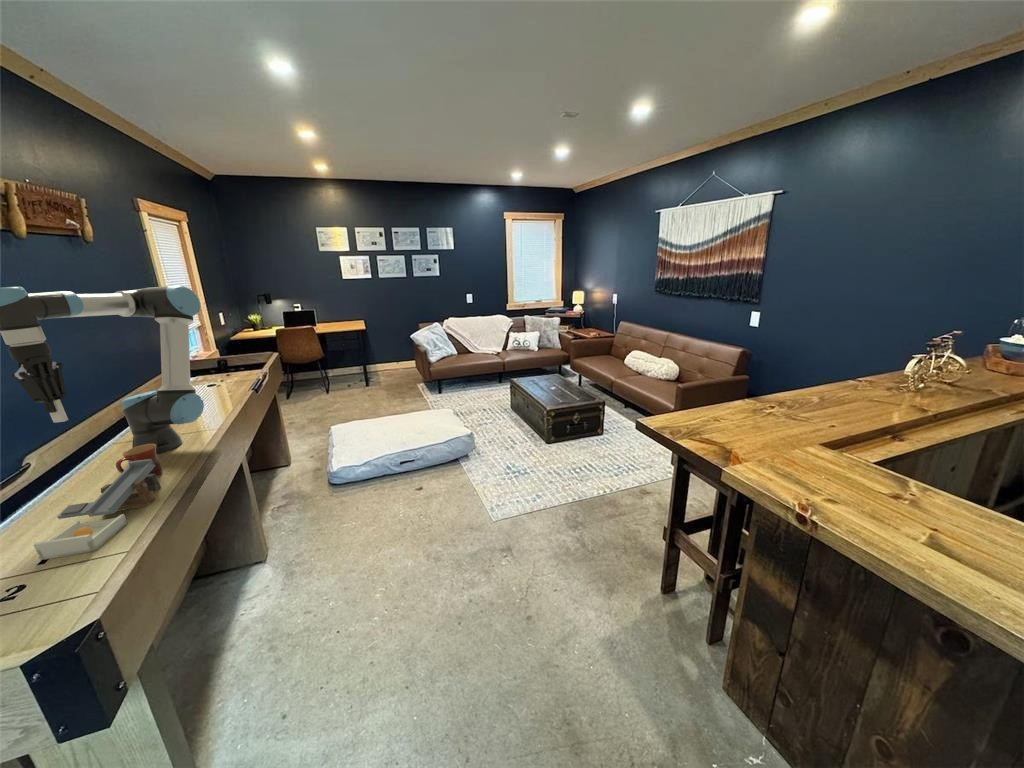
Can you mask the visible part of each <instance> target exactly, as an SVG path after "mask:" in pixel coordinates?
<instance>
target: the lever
mask: <svg viewBox="0 0 1024 768" xmlns="http://www.w3.org/2000/svg"><path fill="white" fill-rule="evenodd" d="M127 464H128V466H127V467H126V468H125V469H123V470H124V471H123V472H122V473H120V474H119V476H117V478H116V479H115V480H114V481H113V482H112V483H110V484H111V485H110V486H109V487H108V488H107V489H106V490H105V491H104V492H103V493H101V494H100V495H99V497H97V498H96V499H95V500H94V501H90V502H84V503H83V502H82V503H81V502H80V503H76V504H75V503H74V504H70V505H67V506H66V507H64V509H62V511H61V512H59V514H58V515H57V516H56V518H58V519H59V520H63V519H68V518H75V517H82V516H88V517H90V518H91V517H97V516H105V515H111V514H115V513H116V512H117V510H118V509H119V507H120V506H121V505H122V504H123V503H124V502H125V500H126V499H127V498H128V497H129V496H130V495H131V494H132V493H134V491H136V488H135V486H134V483H136V482H137V481H138V480H142V479H145V477H146V476H147V475H148V474H149V473H150V472H151V471H152V469H153V468H154V467H155V464H154V463H153V461H152V459H145V460H138V461H130V462H128V463H127Z"/></svg>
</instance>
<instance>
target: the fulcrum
mask: <svg viewBox="0 0 1024 768" xmlns="http://www.w3.org/2000/svg"><path fill="white" fill-rule="evenodd" d="M111 484H112V483H107V484H105V485H103V486H102V487H101V488H100V493H101V494H102V493H103V492H104V491H105V490H106V489H107V488H108V487H109V486H110V485H111ZM134 486H135V488H136V489H135V491H136V492H132V494H131V495H130V496H129V497H128V498H127V499H126V500H125V502H124V503H123V504H122V505H121V506H120V507H119V509H118V510H117V511H124V510H131V509H132V510H133V509H138V508H145V507H148V506H149V505H151V504H152V503H153V502H154V501H155V500H156V499H157V497H156V495H155V492H157V491H159V490H160V489H161V488H162V487H161V484H160V481H159V479H158V475H157V476H156V473H155V474H148V475H147V476H146V477H145V479H142V480H138V481H137V482H136V483H134ZM117 511H116V512H117Z"/></svg>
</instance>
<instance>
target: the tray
mask: <svg viewBox="0 0 1024 768" xmlns="http://www.w3.org/2000/svg"><path fill="white" fill-rule="evenodd" d="M128 524H129V523H128V520H127V517H126V516H125V513H123V514H119V515H118V516H117V517H113V518H108V519H107V518H106V519H102V520H94V521H87V522H86V521H85V522H80V520H77V521H74V522H73V523H72V524H70V525H69V526H67V527H66V528H65V529H63V530H62V531H60V532H58V534H56V535H55V536H54V537H52V538H50V539H49V540H46V541H45V540H44V541H38V542H35V543H34V544H33V547H34V549H35V551H36V553H37V555H38V557H39V559H40V560H41V561H43V560H49V559H56V558H61V557H67V556H74V555H80V554H86V553H92V552H96V551H97V550H98V549H99V548H100V547H102V546H103V545H104V544H105V543H107V542H108V541H109V540H110V539H111V538H112V537H113V536H115V535H116V534H117V533H118V532H119V531H121V530H122V529H123V528H124V527H126V526H127V525H128ZM81 527H90V528H91V529H92V530H93V533H92V535H90V534H89V535H83V536H76V537H74V533H75V531H76V530H77V529H79V528H81Z"/></svg>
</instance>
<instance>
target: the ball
mask: <svg viewBox="0 0 1024 768" xmlns="http://www.w3.org/2000/svg"><path fill="white" fill-rule="evenodd" d="M92 533H93V530H92V529H91V528H90V527H81V528H79V529H77V530H76V531H75V533H74V537H76V536H83V535H89V534H90V535H92Z"/></svg>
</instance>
